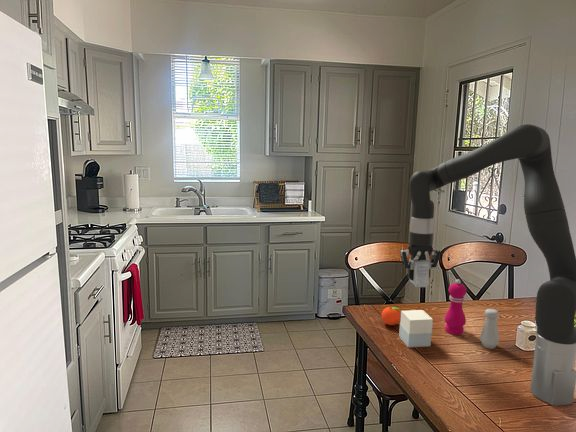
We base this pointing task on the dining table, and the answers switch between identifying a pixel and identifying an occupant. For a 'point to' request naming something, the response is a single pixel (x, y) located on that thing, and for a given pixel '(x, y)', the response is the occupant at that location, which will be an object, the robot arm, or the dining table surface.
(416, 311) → the tower top
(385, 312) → the clementine
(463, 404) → the dining table surface
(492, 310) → the salt shaker
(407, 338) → the tower base
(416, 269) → the medicine box
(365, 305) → the dining table surface
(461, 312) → the pepper mill
